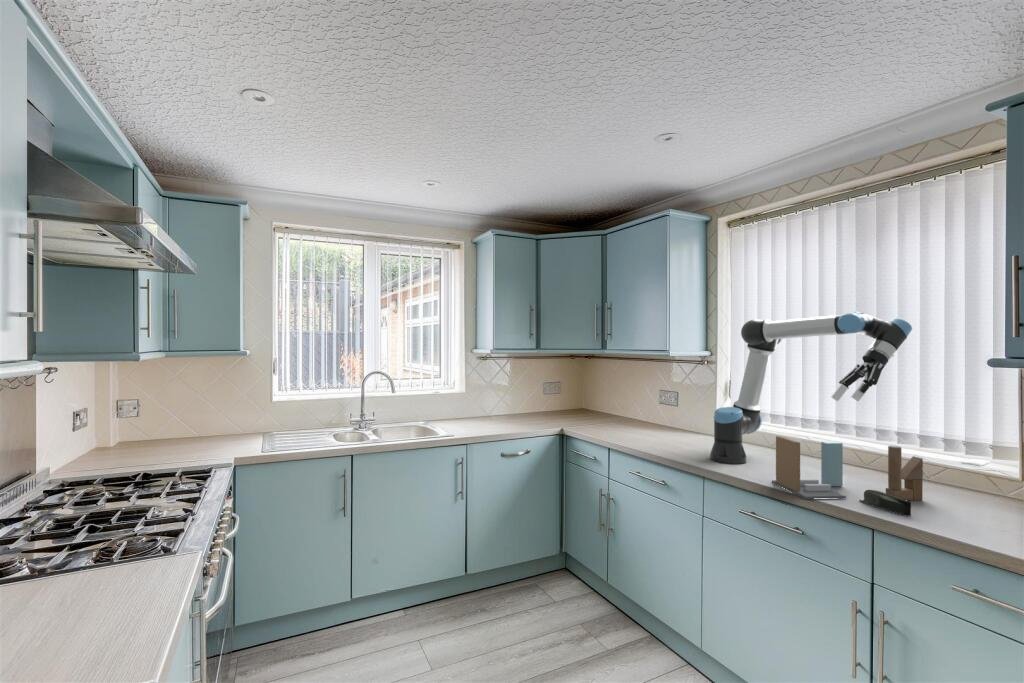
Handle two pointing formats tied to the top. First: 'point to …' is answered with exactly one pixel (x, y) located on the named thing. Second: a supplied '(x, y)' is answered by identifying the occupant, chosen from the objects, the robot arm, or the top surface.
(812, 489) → the stand
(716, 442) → the robot arm
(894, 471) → the wooden block
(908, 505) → the black stapler
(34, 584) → the top surface
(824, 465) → the door panel
